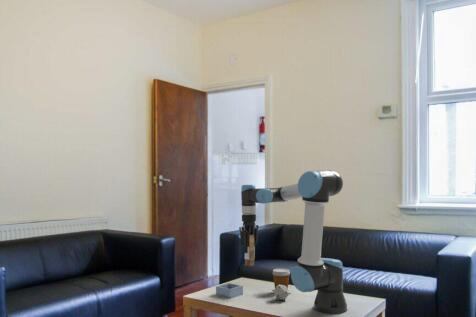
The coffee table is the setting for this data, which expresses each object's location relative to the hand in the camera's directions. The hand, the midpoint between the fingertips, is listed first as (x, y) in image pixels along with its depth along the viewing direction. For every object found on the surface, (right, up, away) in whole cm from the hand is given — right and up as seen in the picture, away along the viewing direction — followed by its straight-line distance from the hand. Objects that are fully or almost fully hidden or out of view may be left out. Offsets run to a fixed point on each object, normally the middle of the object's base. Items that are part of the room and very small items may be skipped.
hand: (249, 258), depth 236 cm
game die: (+16, -18, -12) cm, 27 cm away
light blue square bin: (-11, -19, 0) cm, 22 cm away
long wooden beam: (0, -4, 0) cm, 4 cm away
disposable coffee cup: (+17, -19, +2) cm, 25 cm away
